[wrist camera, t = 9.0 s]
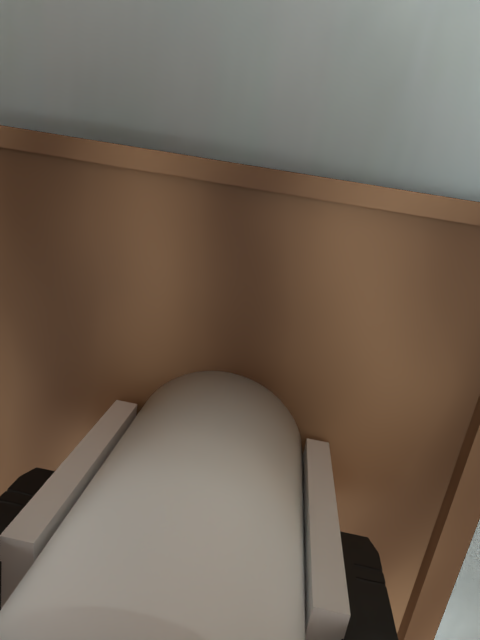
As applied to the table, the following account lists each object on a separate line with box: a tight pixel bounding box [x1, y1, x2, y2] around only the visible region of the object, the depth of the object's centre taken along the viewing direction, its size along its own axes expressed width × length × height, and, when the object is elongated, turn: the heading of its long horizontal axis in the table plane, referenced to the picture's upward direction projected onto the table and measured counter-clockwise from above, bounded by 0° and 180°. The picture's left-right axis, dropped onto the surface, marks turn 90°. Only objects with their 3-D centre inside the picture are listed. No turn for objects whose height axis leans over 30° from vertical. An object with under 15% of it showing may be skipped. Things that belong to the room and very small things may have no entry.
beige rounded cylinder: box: [0, 371, 306, 640], centre depth 12 cm, size 6×6×9 cm
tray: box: [0, 125, 480, 640], centre depth 14 cm, size 19×19×6 cm
